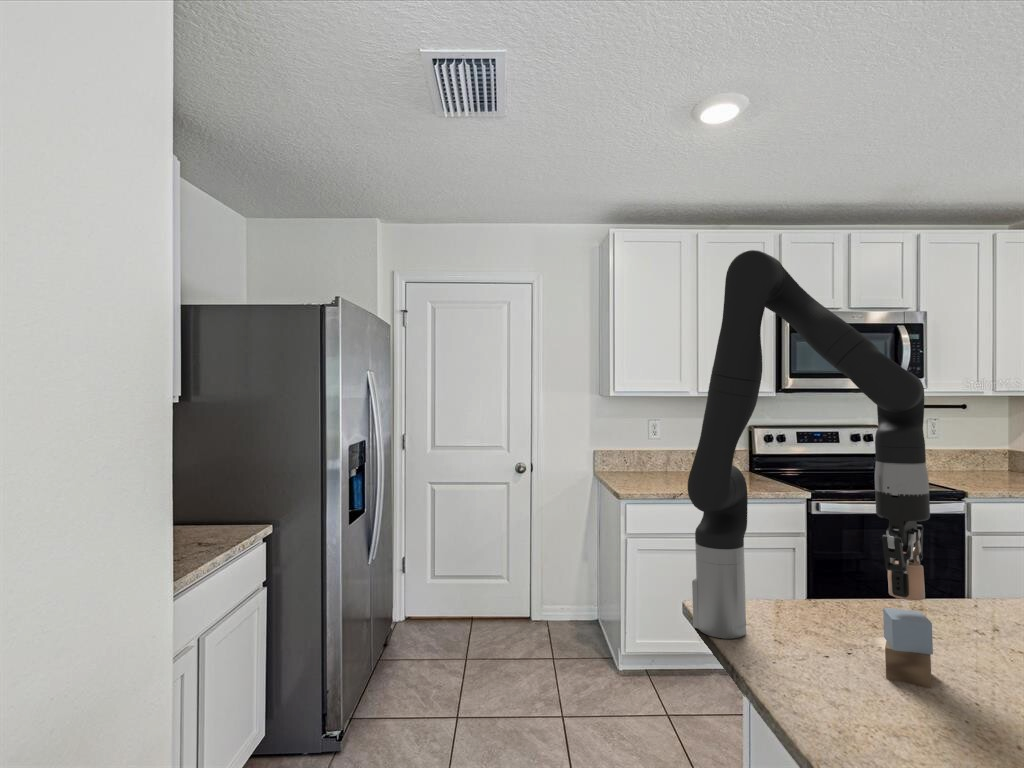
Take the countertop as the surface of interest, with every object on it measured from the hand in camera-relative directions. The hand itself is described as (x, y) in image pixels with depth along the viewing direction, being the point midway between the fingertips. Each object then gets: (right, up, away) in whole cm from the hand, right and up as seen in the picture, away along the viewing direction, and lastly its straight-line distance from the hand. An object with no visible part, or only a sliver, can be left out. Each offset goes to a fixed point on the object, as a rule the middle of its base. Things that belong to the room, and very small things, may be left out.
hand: (905, 591), depth 97 cm
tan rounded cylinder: (0, -1, 0) cm, 1 cm away
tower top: (0, -9, 0) cm, 9 cm away
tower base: (0, -14, 0) cm, 14 cm away
